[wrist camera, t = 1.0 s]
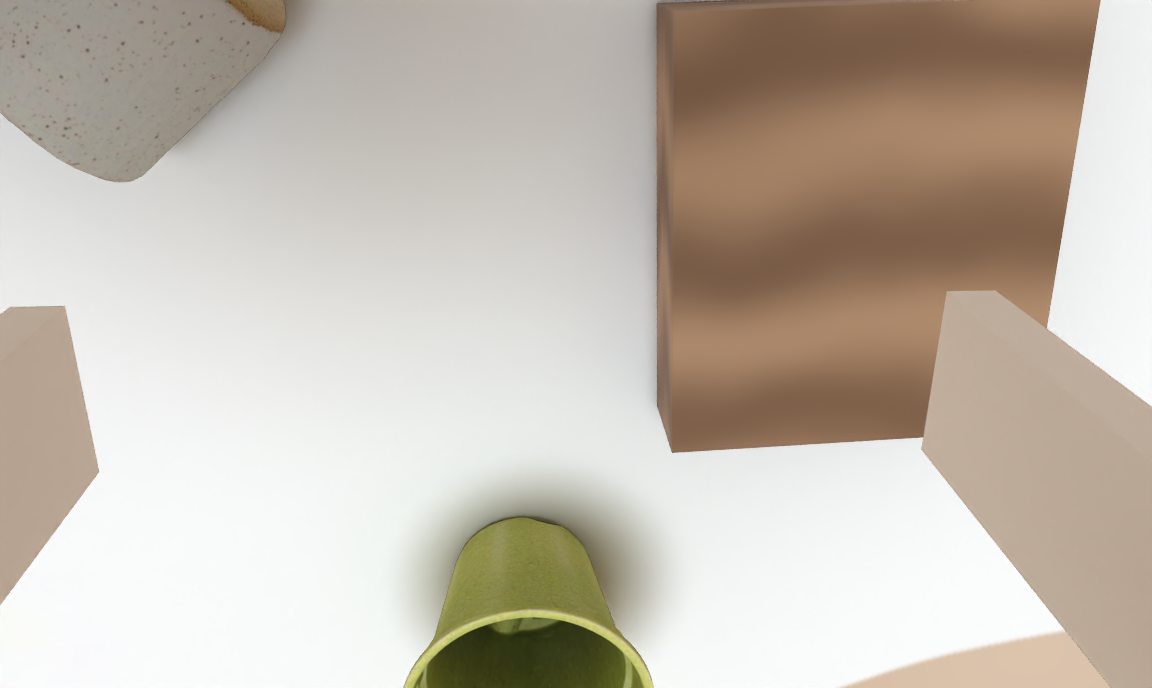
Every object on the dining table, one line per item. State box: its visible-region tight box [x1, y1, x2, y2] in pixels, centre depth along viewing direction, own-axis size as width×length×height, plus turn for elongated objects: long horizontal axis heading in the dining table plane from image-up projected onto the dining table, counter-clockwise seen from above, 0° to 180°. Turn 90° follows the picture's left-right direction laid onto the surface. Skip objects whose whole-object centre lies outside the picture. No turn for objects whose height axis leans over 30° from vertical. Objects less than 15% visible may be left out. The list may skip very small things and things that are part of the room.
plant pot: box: [404, 518, 654, 688], centre depth 40 cm, size 9×9×9 cm
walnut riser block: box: [657, 0, 1100, 453], centre depth 37 cm, size 16×14×4 cm
